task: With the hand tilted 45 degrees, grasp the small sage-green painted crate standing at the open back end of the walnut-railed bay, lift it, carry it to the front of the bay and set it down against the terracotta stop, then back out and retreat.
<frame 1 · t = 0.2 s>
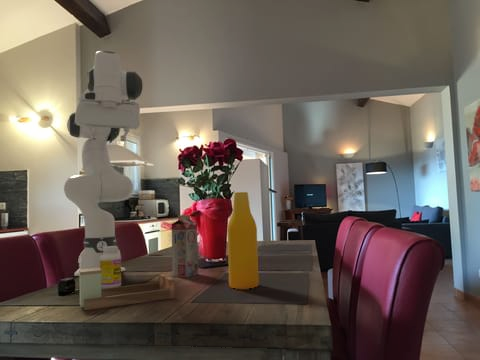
hand: (108, 140, 126), 48 cm above the table, tool pointing down, fingers open, 8 cm apart
supplement bottle: (110, 287, 125), on the table
crate: (90, 304, 103), on the table
bay: (125, 299, 107), on the table
black box: (66, 294, 118), on the table
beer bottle: (244, 287, 118), on the table
juice carton: (185, 275, 141), on the table
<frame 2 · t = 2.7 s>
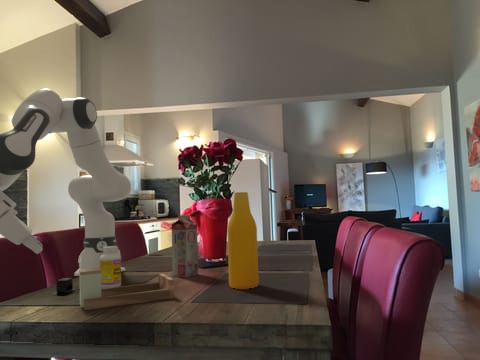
hand: (40, 250, 98), 15 cm above the table, tool tilted 45°, fingers open, 8 cm apart
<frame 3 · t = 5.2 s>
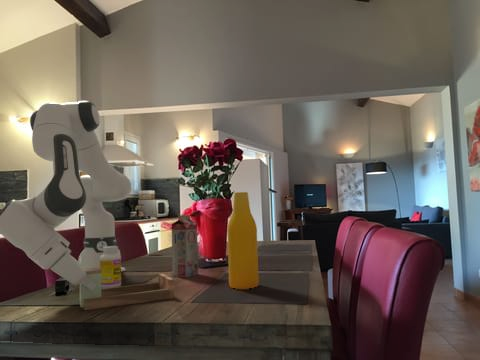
hand: (92, 285, 103), 5 cm above the table, tool tilted 45°, fingers closed on crate, 5 cm apart
crate: (90, 304, 103), on the table, touching gripper
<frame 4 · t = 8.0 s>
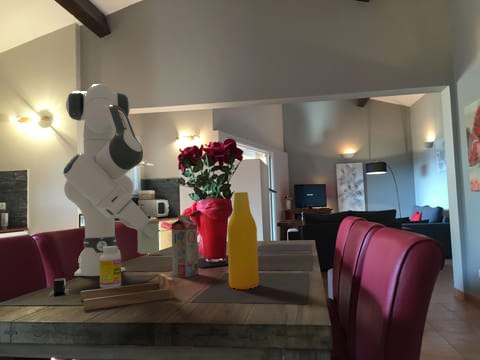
hand: (150, 235, 111), 17 cm above the table, tool tilted 45°, fingers closed on crate, 5 cm apart
crate: (148, 252, 110), point 12 cm above the table, touching gripper
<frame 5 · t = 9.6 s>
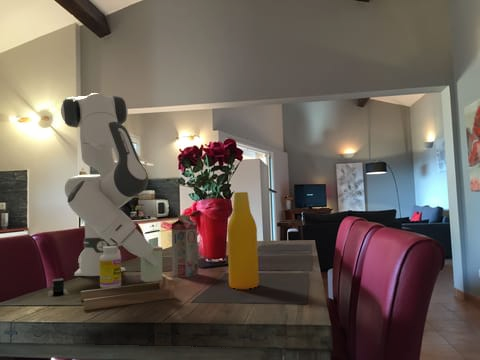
hand: (153, 262, 110), 9 cm above the table, tool tilted 45°, fingers closed on crate, 5 cm apart
crate: (151, 279, 110), point 5 cm above the table, touching gripper
when the fingers open (6 cm above the table, at t = 10.8 s): crate stays where it is, on the table.
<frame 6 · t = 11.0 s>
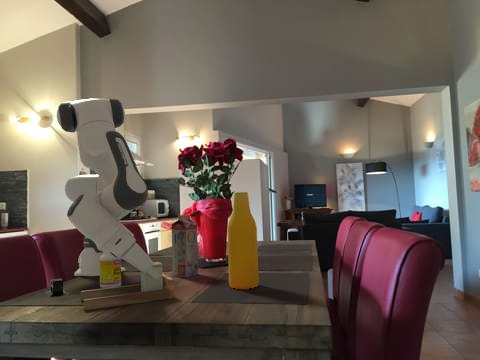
hand: (153, 274, 111), 6 cm above the table, tool tilted 45°, fingers open, 7 cm apart
crate: (151, 295, 110), on the table
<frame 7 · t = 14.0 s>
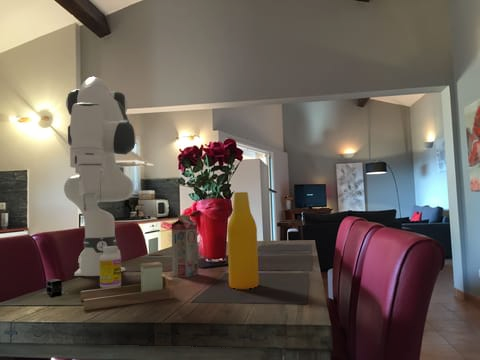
hand: (88, 211, 104), 25 cm above the table, tool pointing down, fingers open, 8 cm apart
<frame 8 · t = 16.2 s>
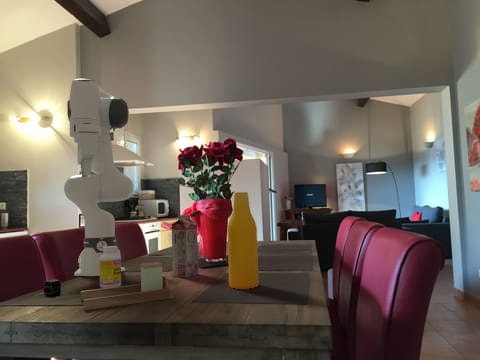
hand: (85, 176, 116), 35 cm above the table, tool pointing down, fingers open, 8 cm apart
at the end: crate inside the target area (0.2 cm from its centre), on the table; crate tilted 0°; the gripper is holding nothing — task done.
